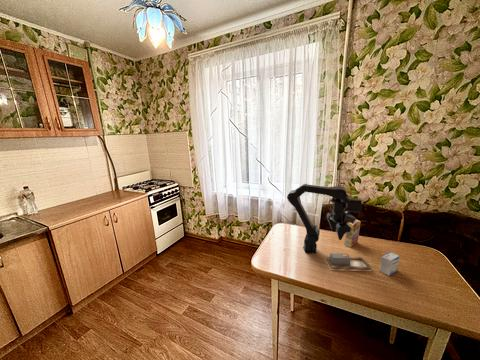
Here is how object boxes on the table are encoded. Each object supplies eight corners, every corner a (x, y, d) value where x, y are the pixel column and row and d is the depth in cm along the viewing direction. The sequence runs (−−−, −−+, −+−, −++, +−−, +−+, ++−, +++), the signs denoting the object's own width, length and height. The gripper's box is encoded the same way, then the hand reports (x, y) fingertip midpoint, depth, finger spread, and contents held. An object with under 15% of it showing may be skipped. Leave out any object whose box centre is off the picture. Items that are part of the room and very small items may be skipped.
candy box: (350, 247, 121) (353, 225, 118) (344, 244, 125) (346, 222, 121) (358, 243, 126) (361, 221, 122) (351, 240, 130) (353, 218, 126)
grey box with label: (332, 265, 105) (333, 257, 104) (329, 261, 109) (330, 252, 107) (349, 266, 104) (350, 257, 103) (346, 261, 108) (347, 253, 107)
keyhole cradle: (331, 270, 103) (331, 267, 102) (325, 259, 111) (325, 256, 111) (371, 271, 101) (371, 268, 100) (362, 260, 110) (362, 257, 109)
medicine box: (388, 276, 97) (391, 261, 95) (379, 271, 101) (381, 256, 99) (397, 270, 100) (400, 256, 98) (387, 265, 104) (390, 251, 102)
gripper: (363, 216, 98) (360, 244, 101) (346, 203, 116) (344, 227, 119) (340, 216, 99) (337, 244, 102) (327, 203, 117) (325, 227, 120)
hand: (336, 235), depth 111 cm, fingers open, 9 cm apart
